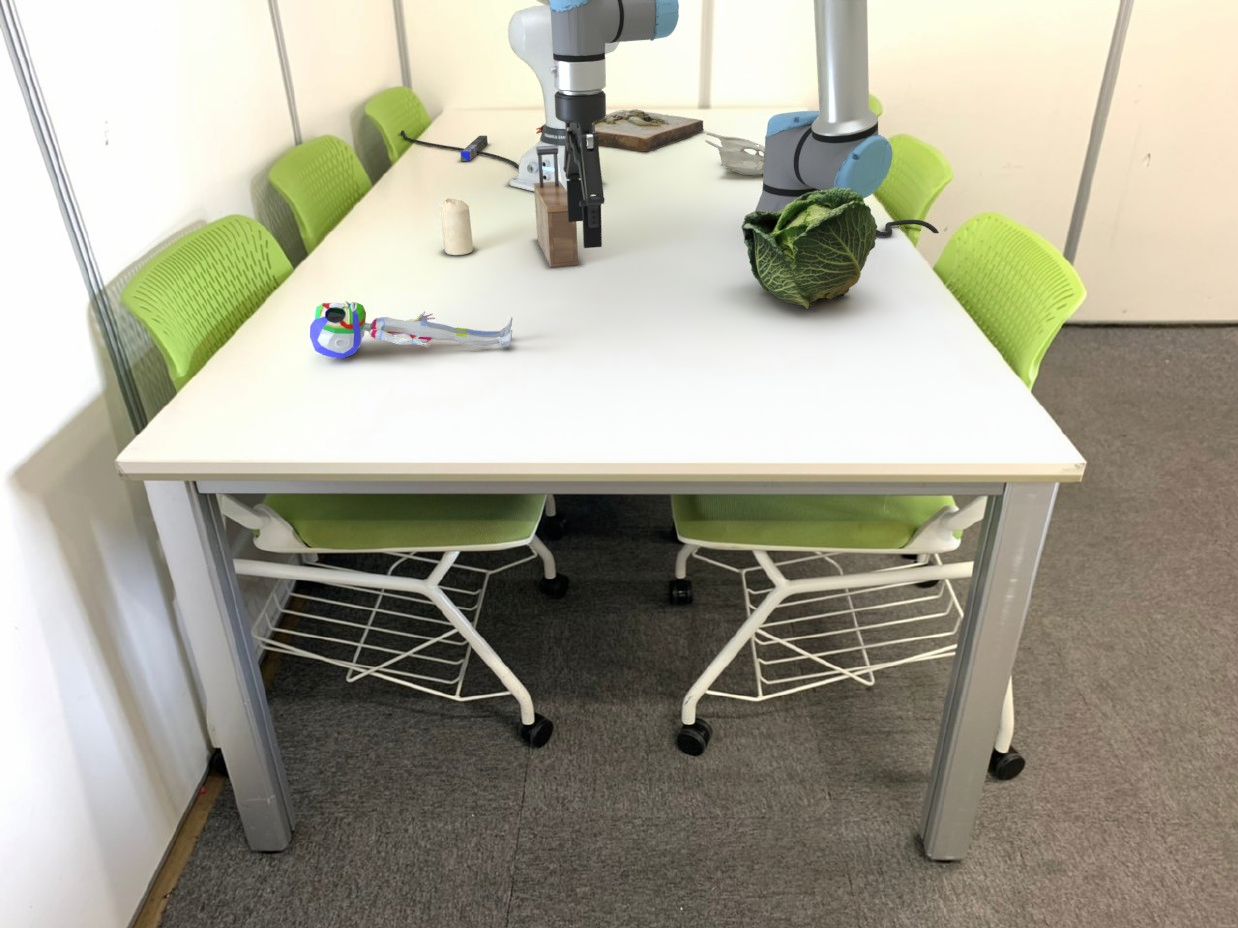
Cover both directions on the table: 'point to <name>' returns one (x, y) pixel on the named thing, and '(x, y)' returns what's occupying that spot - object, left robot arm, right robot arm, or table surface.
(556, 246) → the chest
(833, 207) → the vegetable
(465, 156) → the grey square bar
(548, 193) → the lid
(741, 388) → the table surface
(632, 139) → the plaque
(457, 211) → the candle
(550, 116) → the left robot arm
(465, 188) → the table surface
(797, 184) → the right robot arm
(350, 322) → the toy
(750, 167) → the anatomical model
